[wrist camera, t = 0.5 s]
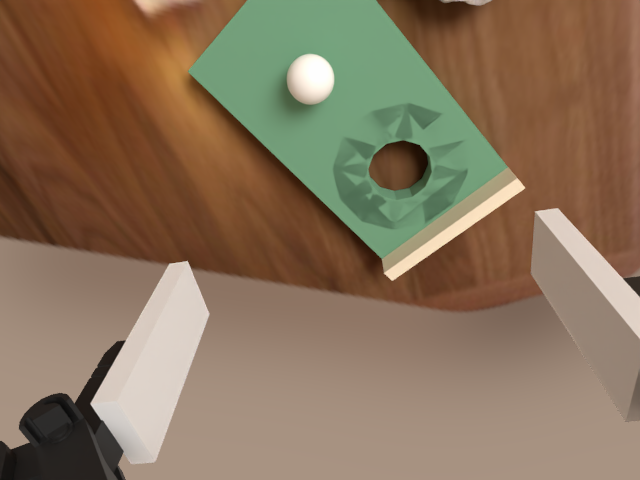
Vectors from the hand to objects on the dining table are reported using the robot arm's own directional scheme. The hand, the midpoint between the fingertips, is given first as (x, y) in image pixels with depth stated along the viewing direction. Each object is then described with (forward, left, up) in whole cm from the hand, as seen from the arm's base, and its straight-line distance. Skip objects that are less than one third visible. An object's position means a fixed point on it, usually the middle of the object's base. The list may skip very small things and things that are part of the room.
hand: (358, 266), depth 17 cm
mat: (+1, 0, -25) cm, 25 cm away
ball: (-4, 0, -21) cm, 21 cm away
